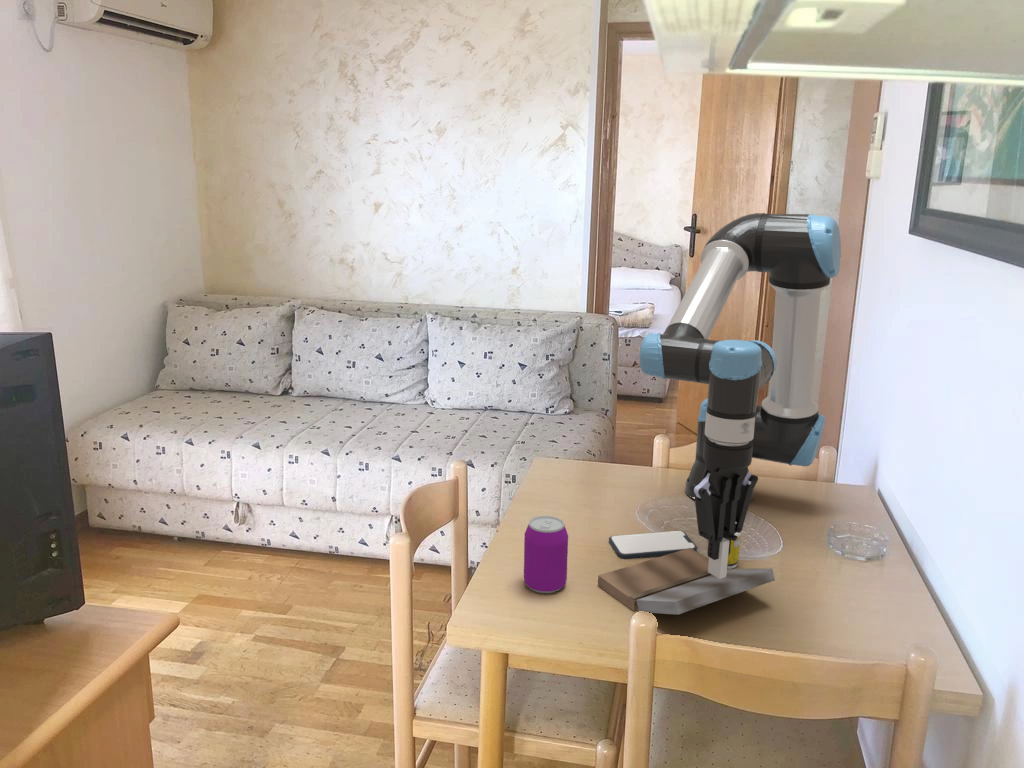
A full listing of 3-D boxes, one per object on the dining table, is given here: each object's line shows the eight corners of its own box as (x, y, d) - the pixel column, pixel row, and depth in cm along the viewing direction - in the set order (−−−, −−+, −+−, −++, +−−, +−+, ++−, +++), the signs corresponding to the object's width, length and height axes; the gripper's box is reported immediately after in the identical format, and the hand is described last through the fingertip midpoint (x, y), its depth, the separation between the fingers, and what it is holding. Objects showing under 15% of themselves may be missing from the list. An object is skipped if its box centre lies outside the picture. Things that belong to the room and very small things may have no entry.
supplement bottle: (703, 563, 152) (707, 515, 149) (717, 554, 156) (721, 507, 153) (729, 573, 148) (733, 524, 146) (743, 563, 152) (747, 515, 150)
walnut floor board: (689, 557, 154) (689, 546, 154) (727, 579, 146) (728, 567, 145) (597, 585, 143) (598, 573, 142) (633, 611, 135) (634, 598, 134)
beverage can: (532, 571, 148) (534, 511, 145) (572, 579, 145) (574, 518, 142) (517, 590, 141) (518, 527, 138) (558, 599, 138) (560, 535, 135)
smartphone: (619, 563, 153) (699, 556, 155) (620, 555, 153) (699, 548, 155) (607, 542, 161) (682, 536, 164) (607, 535, 161) (682, 529, 164)
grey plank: (733, 579, 145) (730, 568, 145) (775, 580, 136) (772, 568, 136) (639, 612, 134) (636, 600, 134) (678, 614, 125) (675, 601, 125)
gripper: (716, 452, 120) (704, 594, 126) (775, 439, 126) (762, 574, 132) (681, 438, 126) (671, 574, 132) (740, 426, 133) (728, 556, 139)
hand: (716, 574), depth 132 cm, fingers closed
